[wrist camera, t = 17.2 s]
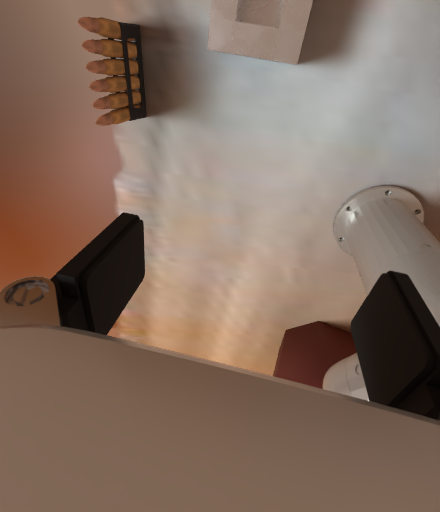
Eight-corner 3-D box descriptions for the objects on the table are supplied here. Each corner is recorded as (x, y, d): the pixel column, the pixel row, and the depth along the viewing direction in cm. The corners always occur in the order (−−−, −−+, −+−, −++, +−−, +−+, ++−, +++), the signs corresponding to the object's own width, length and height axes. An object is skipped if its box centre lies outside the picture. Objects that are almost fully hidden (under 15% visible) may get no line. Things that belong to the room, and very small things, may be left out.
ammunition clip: (146, 117, 41) (104, 132, 32) (135, 116, 42) (90, 131, 32) (139, 25, 35) (84, 9, 25) (125, 24, 35) (66, 8, 26)
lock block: (323, -52, 29) (331, -76, 24) (295, 64, 34) (297, 64, 30) (230, -64, 29) (219, -90, 24) (217, 51, 35) (207, 49, 30)
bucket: (315, 388, 71) (328, 515, 51) (244, 349, 68) (227, 469, 48) (396, 343, 57) (457, 493, 37) (311, 292, 54) (329, 426, 34)
